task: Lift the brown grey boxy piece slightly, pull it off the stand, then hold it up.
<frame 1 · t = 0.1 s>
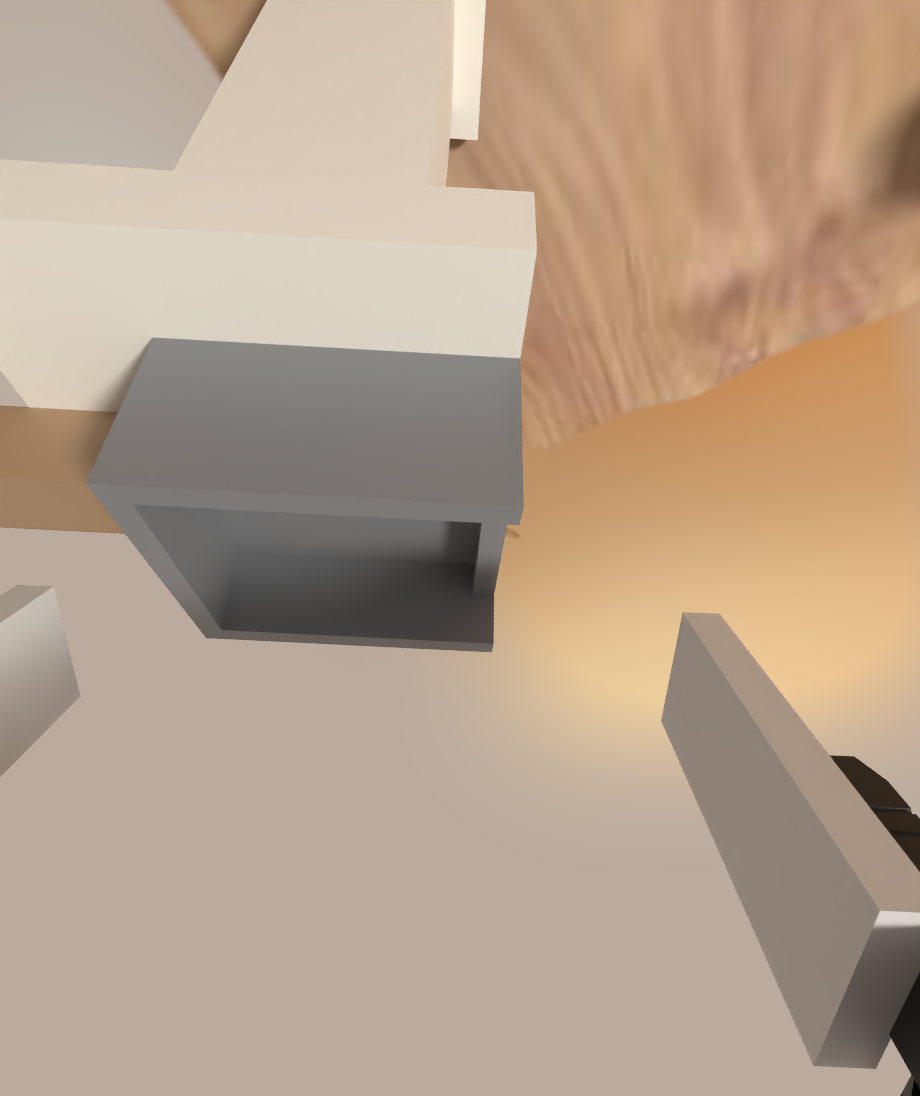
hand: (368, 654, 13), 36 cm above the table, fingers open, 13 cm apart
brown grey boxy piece: (354, 453, 16), point 30 cm above the table, touching stand
stand: (389, 16, 32), on the table
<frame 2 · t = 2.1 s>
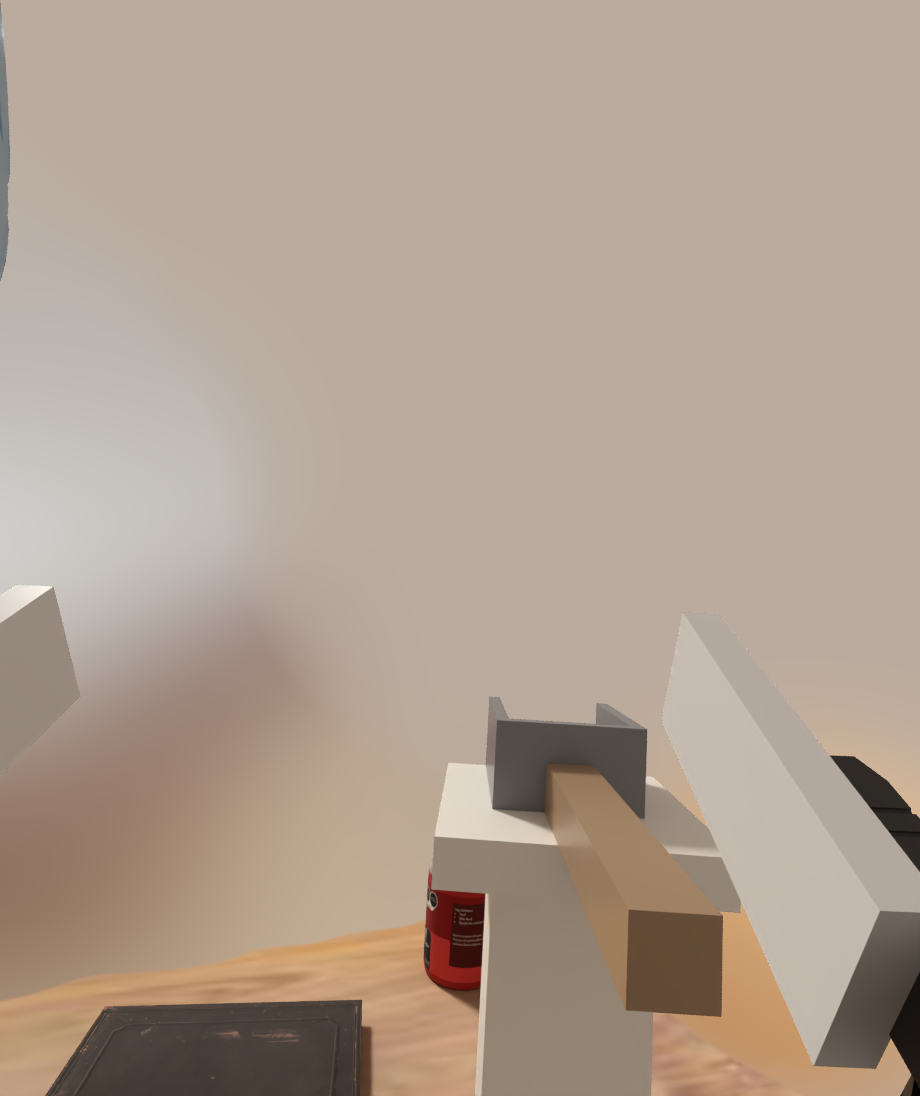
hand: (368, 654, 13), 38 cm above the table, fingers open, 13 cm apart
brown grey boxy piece: (555, 788, 32), point 30 cm above the table, touching stand
canned food: (458, 972, 67), on the table
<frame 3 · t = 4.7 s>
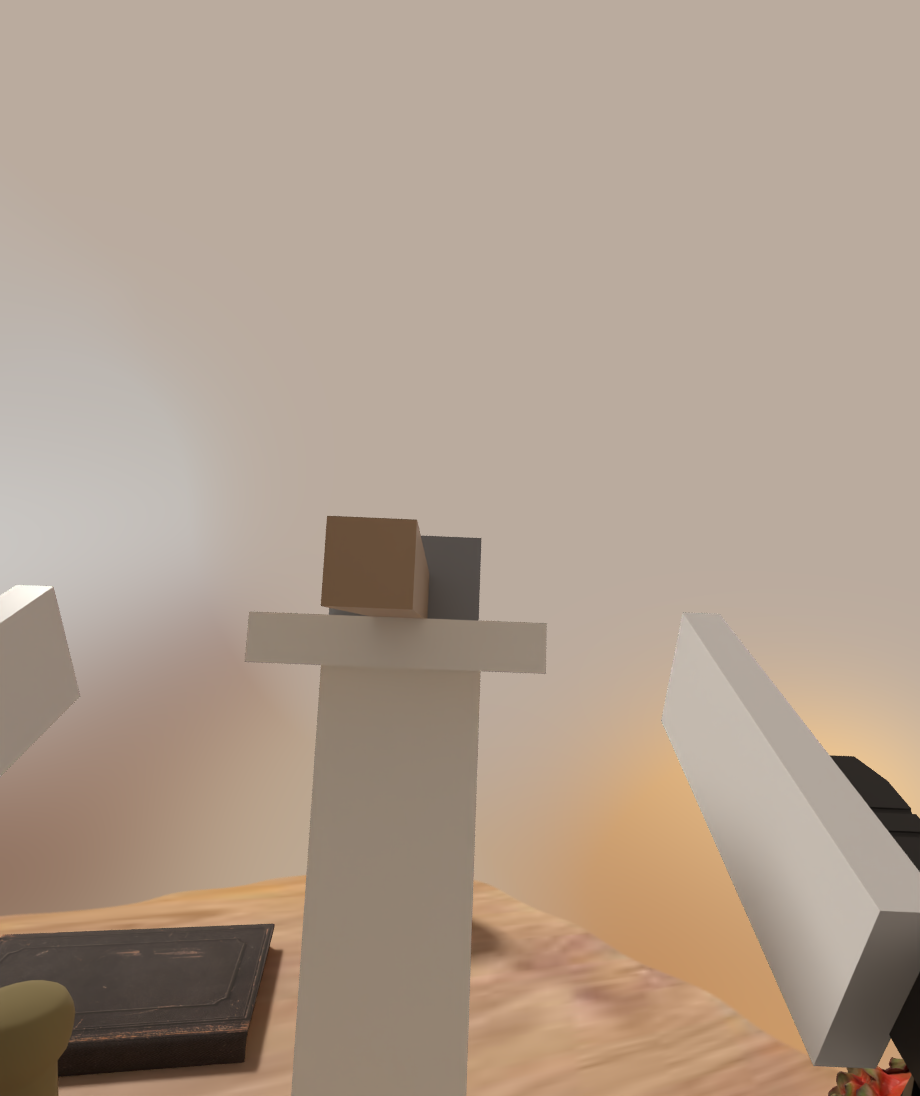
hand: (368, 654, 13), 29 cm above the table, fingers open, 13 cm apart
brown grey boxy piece: (408, 620, 32), point 30 cm above the table, touching stand
hardcover book: (105, 1013, 47), on the table
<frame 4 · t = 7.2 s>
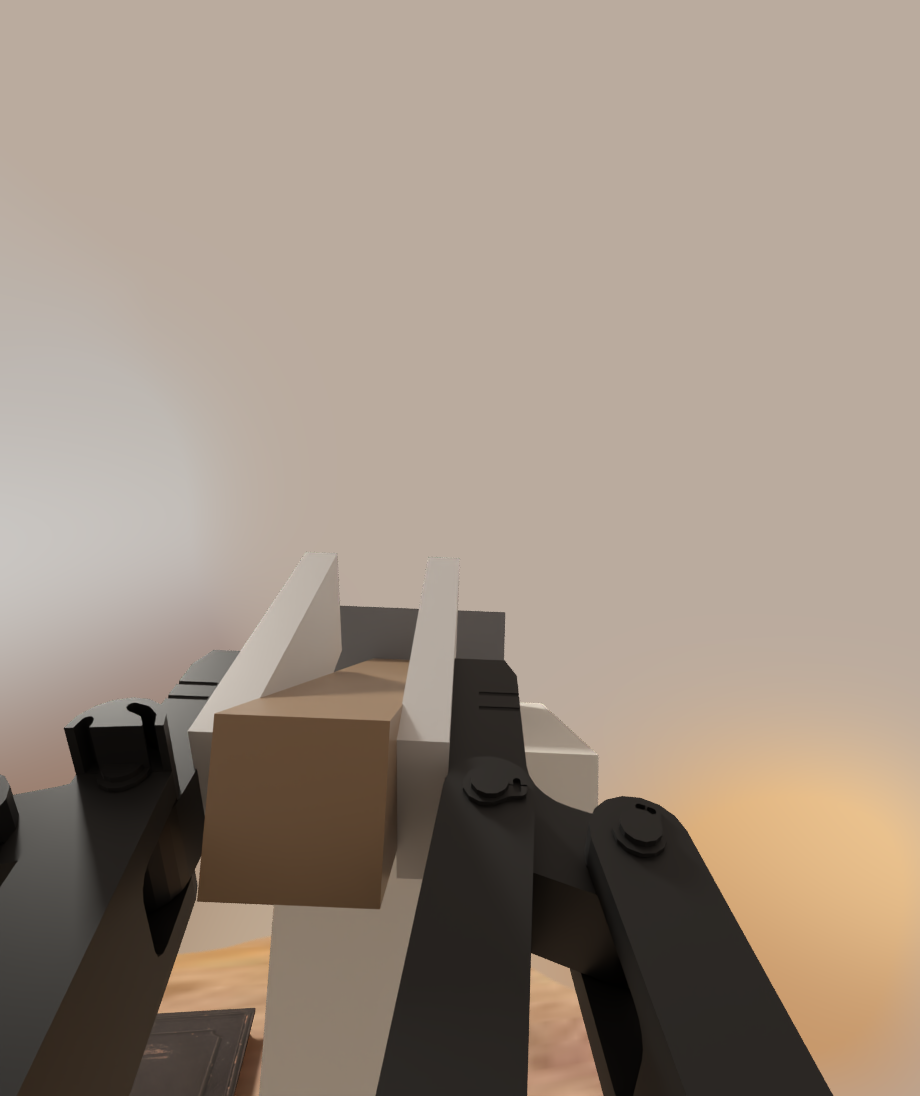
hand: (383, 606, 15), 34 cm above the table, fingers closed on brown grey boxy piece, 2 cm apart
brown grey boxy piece: (410, 708, 25), point 30 cm above the table, touching gripper, stand
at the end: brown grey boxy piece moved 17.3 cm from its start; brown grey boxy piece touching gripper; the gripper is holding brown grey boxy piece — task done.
